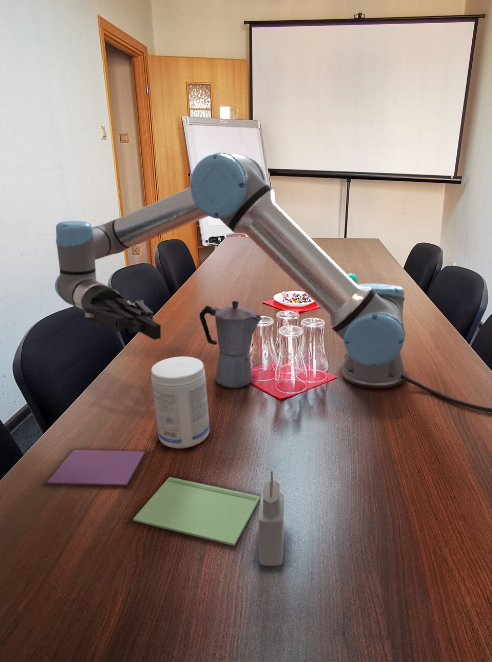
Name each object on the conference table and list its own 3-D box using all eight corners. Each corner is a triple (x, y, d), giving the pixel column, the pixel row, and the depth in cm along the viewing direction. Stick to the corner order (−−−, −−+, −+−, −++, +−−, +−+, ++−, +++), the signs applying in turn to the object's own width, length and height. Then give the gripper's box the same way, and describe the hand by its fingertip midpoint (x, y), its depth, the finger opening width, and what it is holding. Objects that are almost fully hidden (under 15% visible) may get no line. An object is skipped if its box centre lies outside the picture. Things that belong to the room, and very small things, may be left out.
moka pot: (257, 392, 105) (256, 308, 98) (194, 385, 108) (188, 304, 101) (268, 375, 114) (267, 297, 107) (209, 369, 116) (205, 293, 110)
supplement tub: (202, 418, 94) (197, 352, 89) (216, 442, 86) (211, 371, 81) (153, 429, 90) (146, 360, 85) (163, 456, 82) (155, 381, 77)
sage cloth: (260, 498, 72) (260, 495, 72) (234, 546, 63) (234, 543, 62) (169, 478, 76) (169, 476, 76) (133, 521, 67) (132, 518, 67)
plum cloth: (145, 453, 82) (145, 451, 82) (126, 486, 74) (126, 484, 74) (73, 451, 83) (73, 449, 83) (47, 484, 74) (46, 482, 74)
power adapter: (258, 565, 60) (257, 489, 56) (261, 533, 65) (260, 462, 61) (282, 565, 60) (282, 490, 56) (283, 534, 65) (284, 462, 61)
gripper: (127, 312, 107) (186, 343, 92) (70, 322, 98) (125, 358, 83) (126, 280, 105) (186, 307, 90) (67, 288, 95) (123, 319, 81)
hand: (157, 332), depth 87 cm, fingers closed
